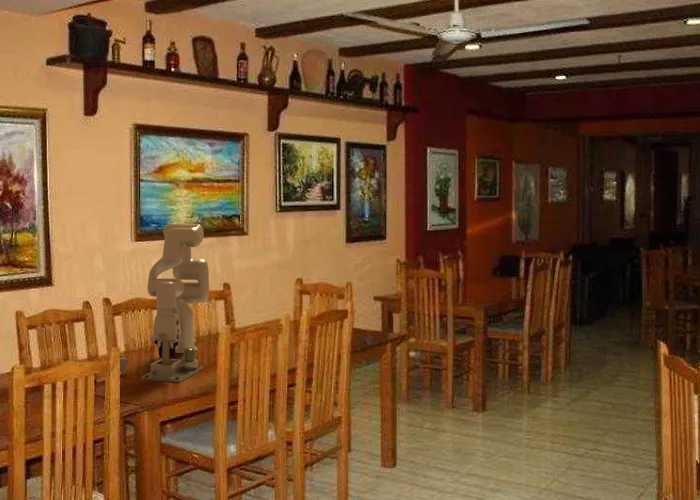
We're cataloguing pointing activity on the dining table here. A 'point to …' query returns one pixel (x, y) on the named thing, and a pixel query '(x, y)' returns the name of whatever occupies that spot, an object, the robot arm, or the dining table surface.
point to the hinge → (122, 366)
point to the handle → (165, 350)
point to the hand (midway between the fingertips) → (167, 356)
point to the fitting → (174, 368)
